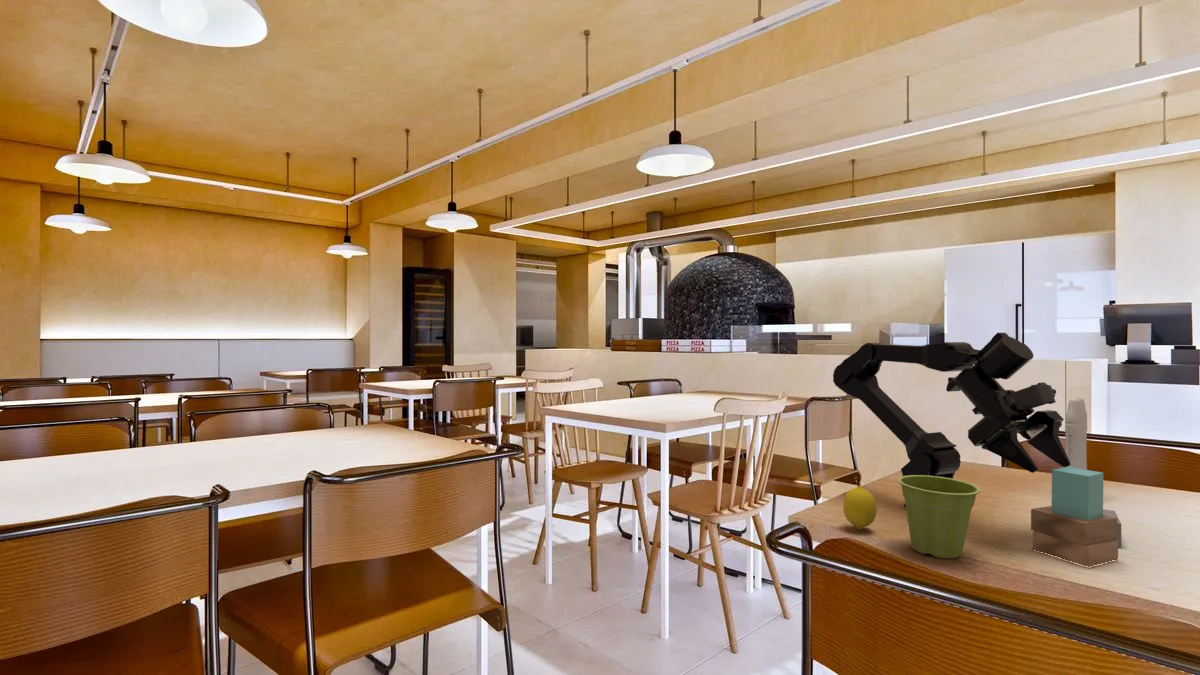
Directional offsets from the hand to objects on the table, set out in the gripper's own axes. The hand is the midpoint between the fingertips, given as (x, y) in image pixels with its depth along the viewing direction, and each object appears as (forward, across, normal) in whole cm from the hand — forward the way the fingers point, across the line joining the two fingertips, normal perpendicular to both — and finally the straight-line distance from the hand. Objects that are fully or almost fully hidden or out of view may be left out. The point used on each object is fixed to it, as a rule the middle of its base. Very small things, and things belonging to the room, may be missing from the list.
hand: (1052, 468), depth 100 cm
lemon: (-4, -22, +24) cm, 33 cm away
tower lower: (+12, 0, +7) cm, 14 cm away
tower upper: (+10, 0, +5) cm, 11 cm away
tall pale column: (-2, +40, +21) cm, 45 cm away
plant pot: (+5, -19, +14) cm, 24 cm away
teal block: (+7, 0, +2) cm, 8 cm away
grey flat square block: (+9, +12, +10) cm, 18 cm away
